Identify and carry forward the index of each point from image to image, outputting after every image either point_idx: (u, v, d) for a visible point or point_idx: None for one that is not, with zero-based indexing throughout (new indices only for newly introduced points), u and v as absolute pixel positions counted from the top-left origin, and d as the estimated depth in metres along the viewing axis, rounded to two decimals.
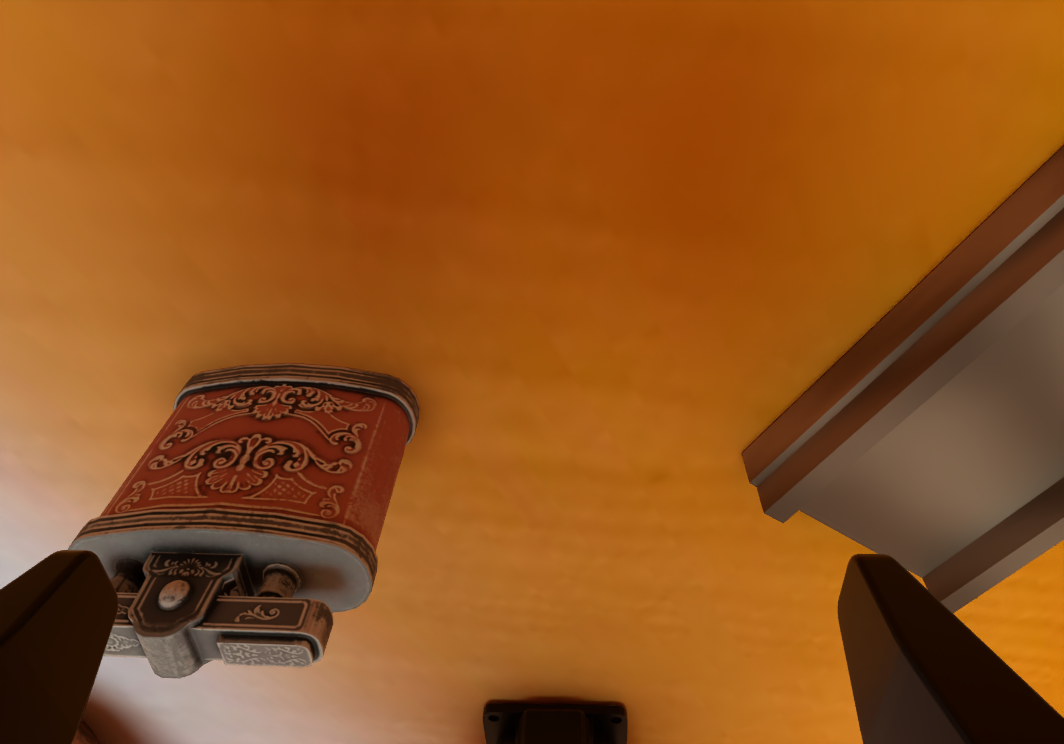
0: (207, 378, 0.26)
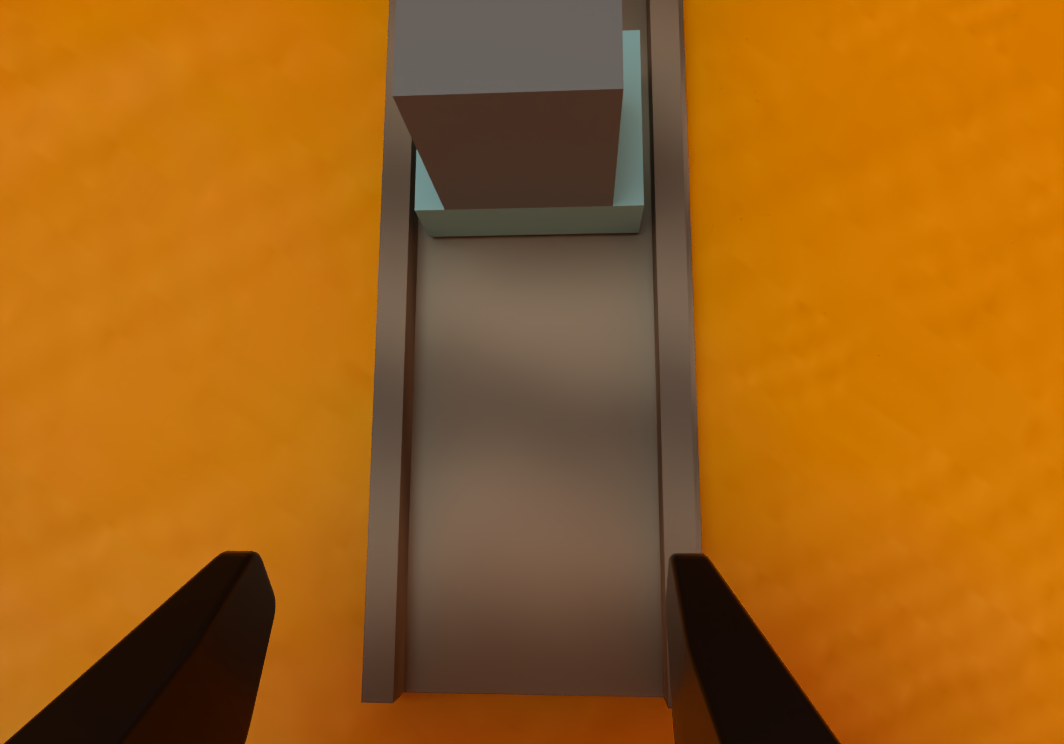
0: None
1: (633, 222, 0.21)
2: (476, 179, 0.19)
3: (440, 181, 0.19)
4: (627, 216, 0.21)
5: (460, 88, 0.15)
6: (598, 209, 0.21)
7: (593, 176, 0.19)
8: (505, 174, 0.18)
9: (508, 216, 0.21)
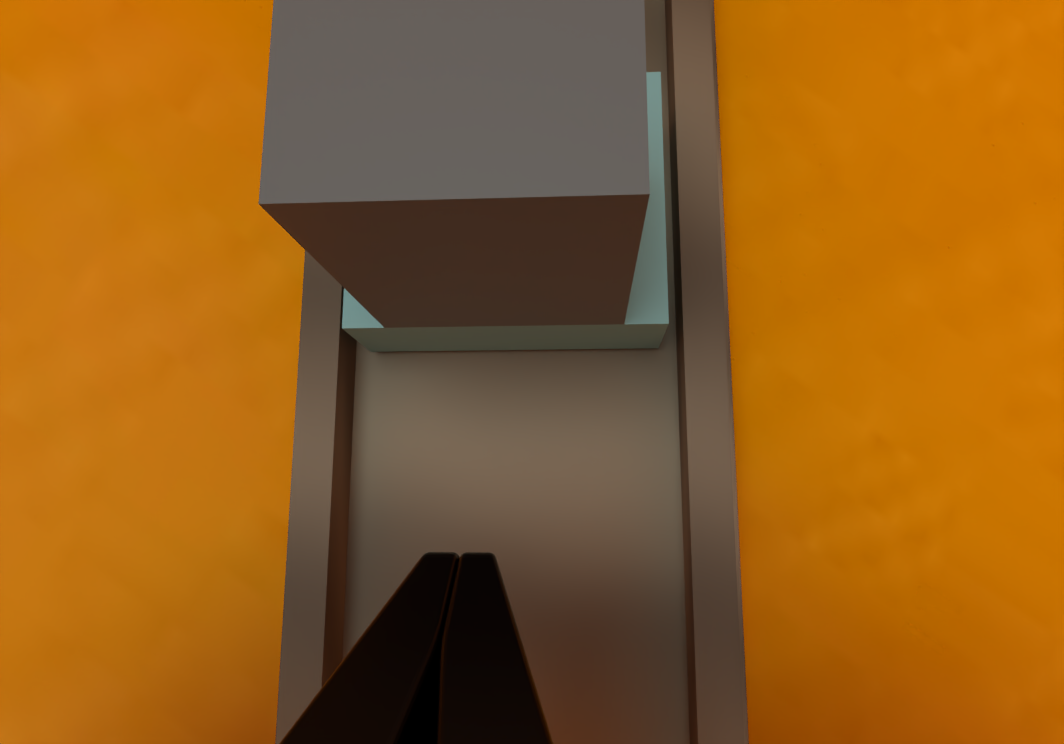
0: None
1: (651, 339, 0.15)
2: (422, 298, 0.13)
3: (370, 300, 0.13)
4: (644, 334, 0.15)
5: (373, 191, 0.09)
6: (603, 328, 0.14)
7: (596, 296, 0.12)
8: (464, 293, 0.12)
9: (476, 333, 0.15)
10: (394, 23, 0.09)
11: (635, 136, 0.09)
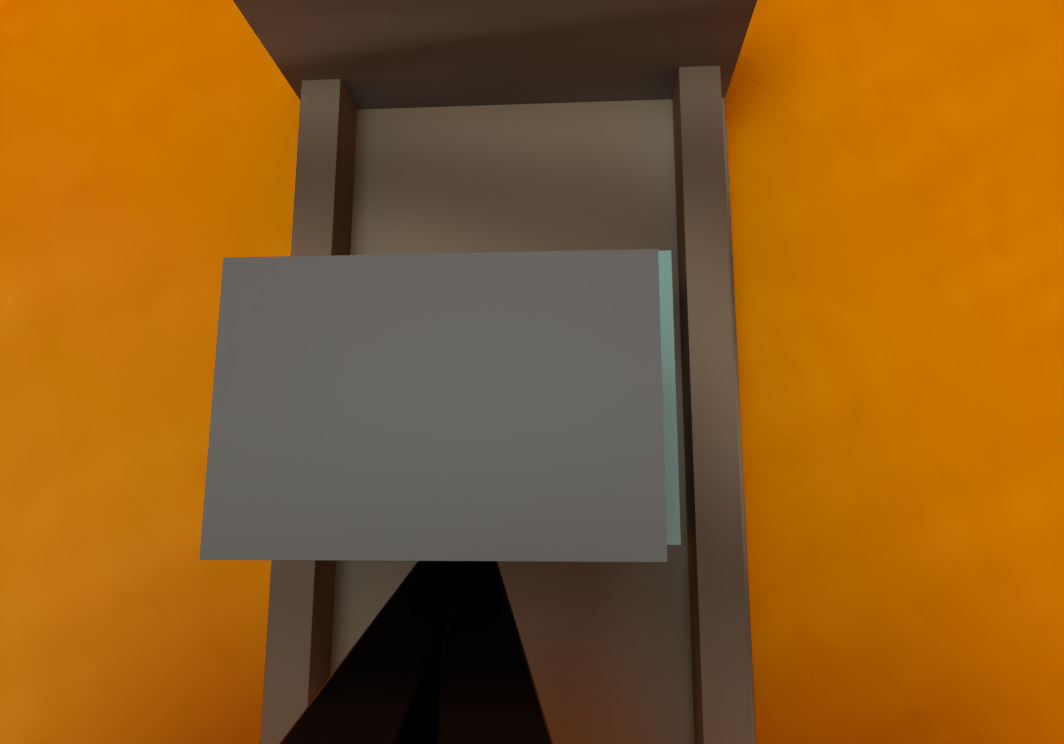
0: None
1: None
2: None
3: None
4: None
5: (336, 548, 0.07)
6: None
7: None
8: None
9: None
10: (362, 330, 0.08)
11: (650, 485, 0.07)
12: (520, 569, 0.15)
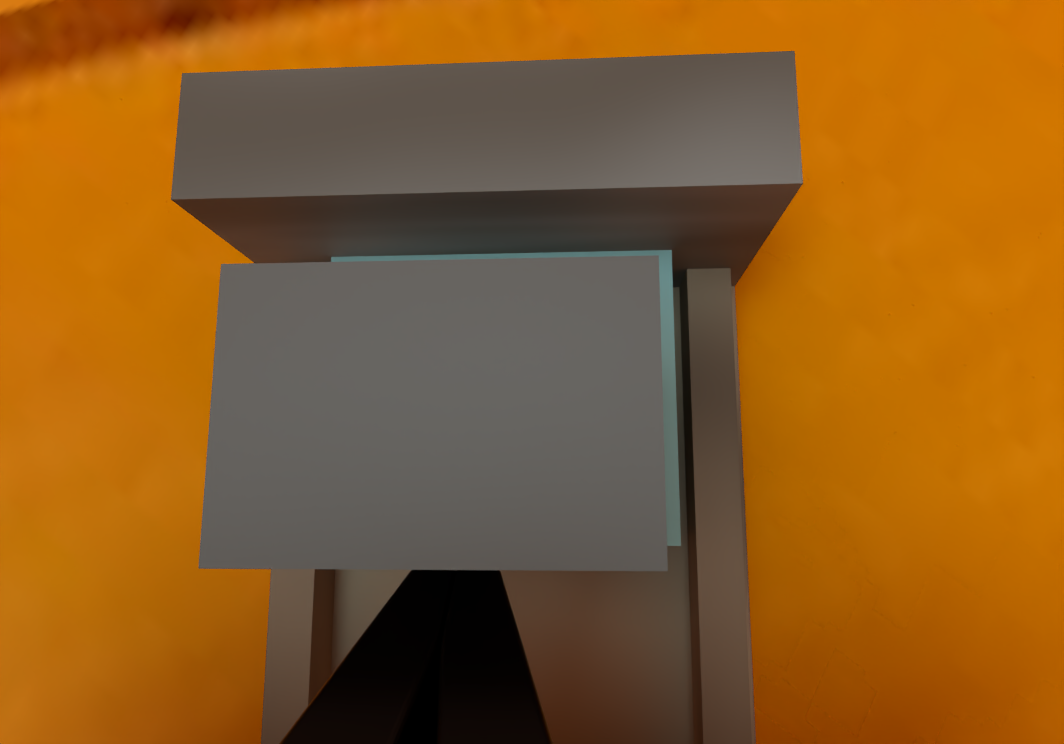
0: None
1: None
2: None
3: None
4: None
5: (334, 557, 0.07)
6: None
7: None
8: None
9: None
10: (361, 337, 0.08)
11: (650, 494, 0.07)
12: None
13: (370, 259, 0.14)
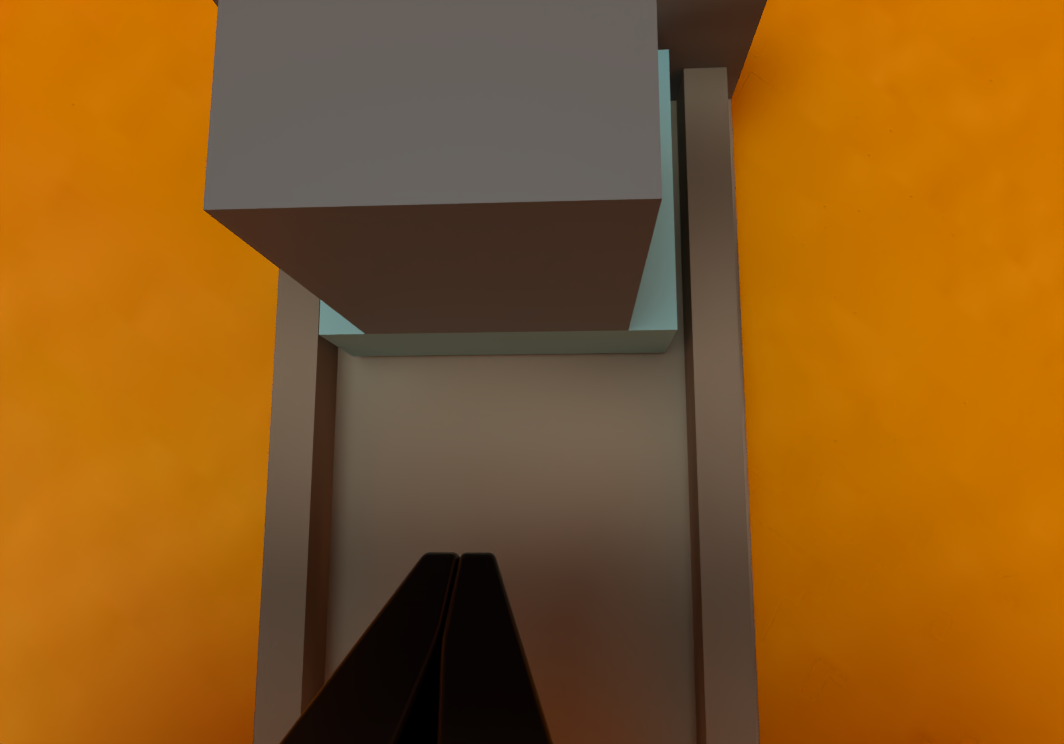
0: None
1: (658, 345, 0.14)
2: (404, 305, 0.11)
3: (346, 308, 0.11)
4: (650, 339, 0.14)
5: (336, 194, 0.08)
6: (605, 333, 0.13)
7: (598, 303, 0.11)
8: (450, 300, 0.11)
9: (465, 339, 0.14)
10: None
11: (645, 129, 0.07)
12: (518, 592, 0.15)
13: None
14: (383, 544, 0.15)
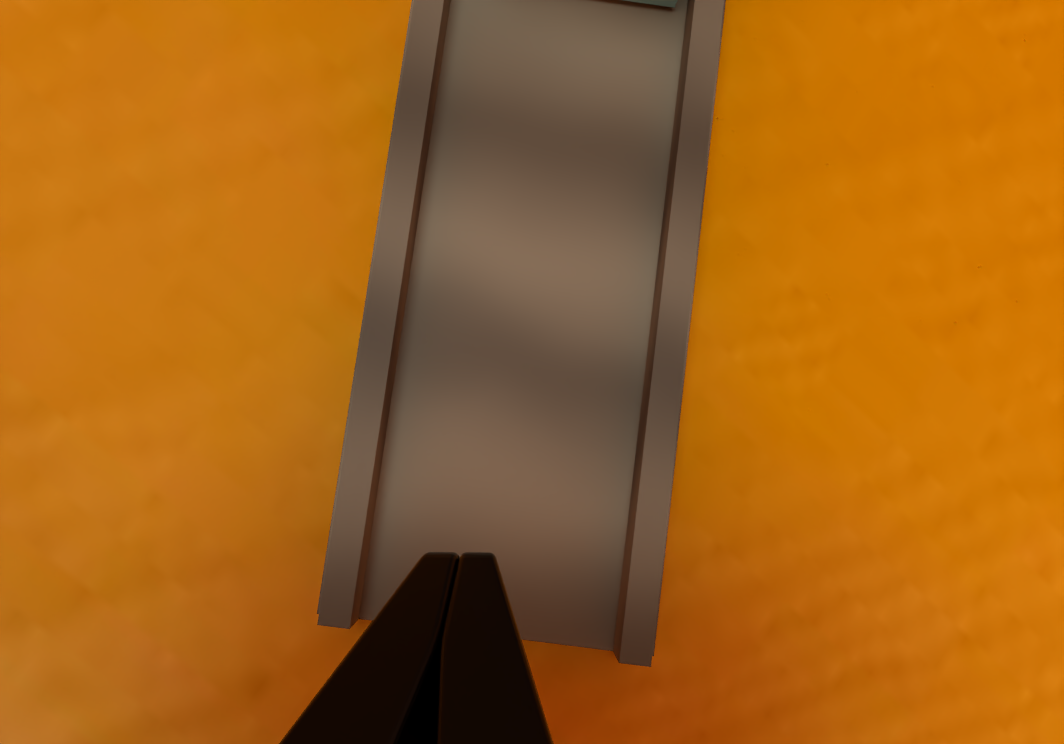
0: None
1: None
2: None
3: None
4: None
5: None
6: None
7: None
8: None
9: None
10: None
11: None
12: (558, 146, 0.22)
13: None
14: (472, 105, 0.22)
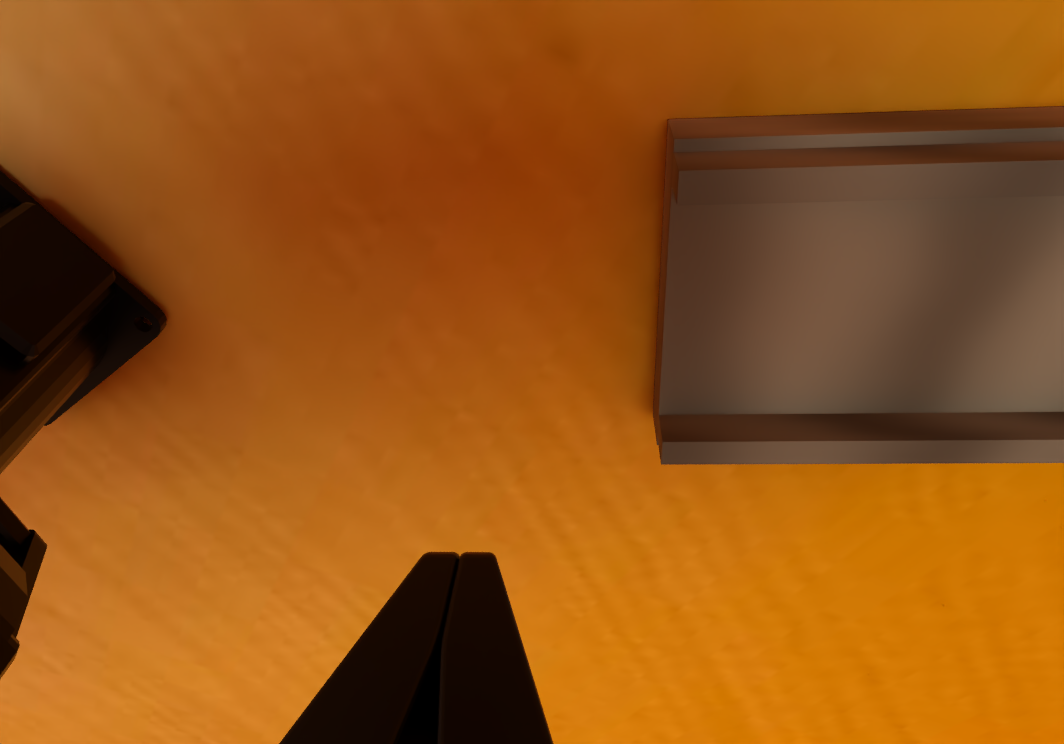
0: None
1: None
2: None
3: None
4: None
5: None
6: None
7: None
8: None
9: None
10: None
11: None
12: None
13: None
14: None
